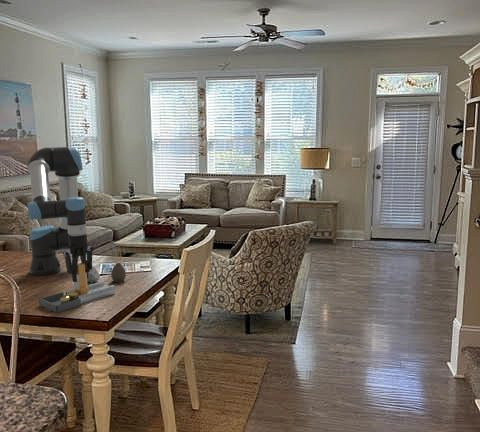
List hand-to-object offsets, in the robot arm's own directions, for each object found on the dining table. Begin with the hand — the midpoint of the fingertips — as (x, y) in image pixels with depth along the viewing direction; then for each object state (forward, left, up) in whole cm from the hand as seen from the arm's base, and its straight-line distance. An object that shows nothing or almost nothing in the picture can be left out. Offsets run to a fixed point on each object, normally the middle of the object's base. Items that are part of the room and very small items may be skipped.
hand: (81, 287), depth 202 cm
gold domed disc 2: (0, -4, -3) cm, 5 cm away
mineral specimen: (-20, +18, -6) cm, 27 cm away
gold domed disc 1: (0, -7, -4) cm, 8 cm away
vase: (-9, +26, -5) cm, 28 cm away
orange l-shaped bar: (0, 0, -3) cm, 3 cm away
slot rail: (0, +5, -5) cm, 7 cm away
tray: (0, -10, -5) cm, 11 cm away
